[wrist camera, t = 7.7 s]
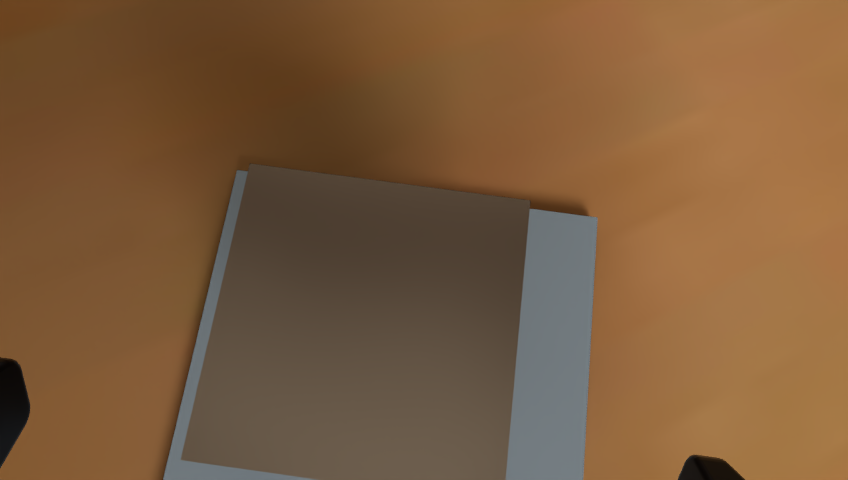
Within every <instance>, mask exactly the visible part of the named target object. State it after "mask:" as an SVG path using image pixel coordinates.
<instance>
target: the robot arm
mask: <svg viewBox="0 0 848 480" xmlns="http://www.w3.org/2000/svg"><path fill="white" fill-rule="evenodd" d="M29 413H30V402H29V398H28V394H27V390H26V386H25V382H24V378H23V374H22V370H21V367H20V365H19V364H18V363H17V361H15V360H13V359H8V358H1V357H0V468H1V466H2V464H3V463H4V461H5V459H6V457H7V456H8V454H9V452H10V451H11V449H12V447H13V445H14V444H15V442H16V440H17V439H18V437H19V435H20V433H21V432H22V430H23V428H24V427H25V425H26V423H27V420H28V417H29ZM678 480H745V479H744V478H743V477H742V476H741V475H740V474H739V473H738V472H737V471H735V470H734V469H733V468H732V467H731V466H730V465H729V464H728V463H727V462H726V461H724V460H723V459H720V458H715V457H708V456H701V455H692V456H690V457H689V458H688V459H687V460H686V462H685V464H684V466H683V468H682V471H681V473H680V475H679V478H678Z"/></svg>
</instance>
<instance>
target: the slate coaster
mask: <svg viewBox="0 0 848 480" xmlns="http://www.w3.org/2000/svg"><path fill="white" fill-rule="evenodd" d="M247 173H248V171H241V170H237V173H236V177H235V181H234V185H233V189H232V193H231V198H230V202H229V206H228V210H227V214H226V219H225V223H224V227H223V231H222V235H221V239H220V244H219V248H218V252H217V256H216V260H215V265H214V269H213V273H212V277H211V281H210V285H209V290H208V294H207V298H206V302H205V306H204V311H203V315H202V319H201V323H200V327H199V331H198V336H197V340H196V344H195V348H194V352H193V357H192V361H191V365H190V369H189V373H188V377H187V382H186V386H185V390H184V394H183V398H182V403H181V407H180V411H179V415H178V419H177V423H176V428H175V432H174V436H173V440H172V444H171V449H170V453H169V457H168V461H167V465H166V469H165V474H164V478H163V480H317V479H310V478H303V477H296V476H289V475H282V474H275V473H268V472H261V471H254V470H247V469H240V468H233V467H226V466H219V465H211V464H204V463H197V462H190V461H183V460H181V456H182V451H183V447H184V443H185V439H186V434H187V430H188V426H189V421H190V417H191V413H192V409H193V404H194V400H195V396H196V391H197V387H198V383H199V379H200V374H201V370H202V366H203V362H204V357H205V353H206V349H207V344H208V340H209V336H210V332H211V327H212V323H213V319H214V314H215V310H216V306H217V302H218V297H219V293H220V289H221V285H222V280H223V276H224V272H225V267H226V263H227V259H228V255H229V250H230V246H231V242H232V238H233V233H234V229H235V225H236V220H237V216H238V212H239V208H240V203H241V199H242V195H243V190H244V186H245V182H246V178H247ZM596 235H597V217H589V216H582V215H574V214H567V213H559V212H551V211H544V210H536V209H530V212H529V223H528V234H527V245H526V257H525V268H524V279H523V290H522V301H521V313H520V324H519V335H518V346H517V357H516V369H515V380H514V391H513V402H512V413H511V425H510V436H509V447H508V458H507V469H506V480H583V472H584V453H585V435H586V417H587V399H588V381H589V362H590V344H591V326H592V308H593V290H594V271H595V253H596Z"/></svg>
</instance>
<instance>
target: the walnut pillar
mask: <svg viewBox="0 0 848 480" xmlns="http://www.w3.org/2000/svg"><path fill="white" fill-rule="evenodd" d="M529 212H530V200H522V199H515V198H507V197H499V196H492V195H484V194H477V193H469V192H462V191H454V190H446V189H439V188H431V187H424V186H416V185H409V184H401V183H393V182H386V181H378V180H371V179H363V178H356V177H348V176H340V175H333V174H325V173H318V172H310V171H303V170H295V169H287V168H280V167H272V166H265V165H257V164H250V165H249V169H248V173H247V178H246V182H245V186H244V190H243V195H242V199H241V203H240V208H239V212H238V216H237V220H236V225H235V229H234V233H233V238H232V242H231V246H230V250H229V255H228V259H227V263H226V267H225V272H224V276H223V280H222V285H221V289H220V293H219V297H218V302H217V306H216V310H215V314H214V319H213V323H212V327H211V332H210V336H209V340H208V344H207V349H206V353H205V357H204V362H203V366H202V370H201V374H200V379H199V383H198V387H197V391H196V396H195V400H194V404H193V409H192V413H191V417H190V421H189V426H188V430H187V434H186V439H185V443H184V447H183V451H182V456H181V460H183V461H190V462H197V463H204V464H211V465H219V466H226V467H233V468H240V469H247V470H254V471H261V472H268V473H275V474H282V475H289V476H296V477H303V478H310V479H317V480H506V469H507V458H508V447H509V436H510V425H511V413H512V402H513V391H514V380H515V369H516V357H517V346H518V335H519V324H520V313H521V301H522V290H523V279H524V268H525V257H526V245H527V234H528V223H529Z"/></svg>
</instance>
